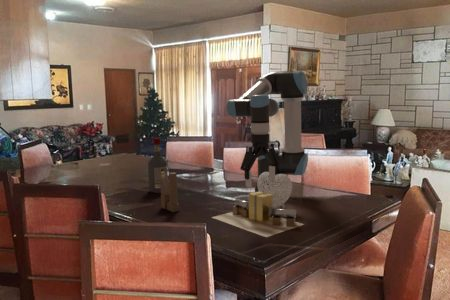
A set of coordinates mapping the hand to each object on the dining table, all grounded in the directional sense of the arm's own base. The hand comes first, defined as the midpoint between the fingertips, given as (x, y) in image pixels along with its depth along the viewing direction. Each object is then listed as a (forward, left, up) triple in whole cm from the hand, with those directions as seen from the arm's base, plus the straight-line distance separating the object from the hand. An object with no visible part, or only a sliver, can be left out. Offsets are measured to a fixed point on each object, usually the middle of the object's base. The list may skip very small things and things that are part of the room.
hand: (260, 184), depth 165 cm
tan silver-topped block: (0, -10, -15) cm, 18 cm away
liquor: (+3, -78, -16) cm, 80 cm away
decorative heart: (-18, -9, -16) cm, 26 cm away
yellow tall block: (0, 0, -15) cm, 15 cm away
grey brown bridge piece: (-3, +10, -15) cm, 19 cm away
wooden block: (+18, -42, -16) cm, 48 cm away
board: (+2, 0, -16) cm, 16 cm away
